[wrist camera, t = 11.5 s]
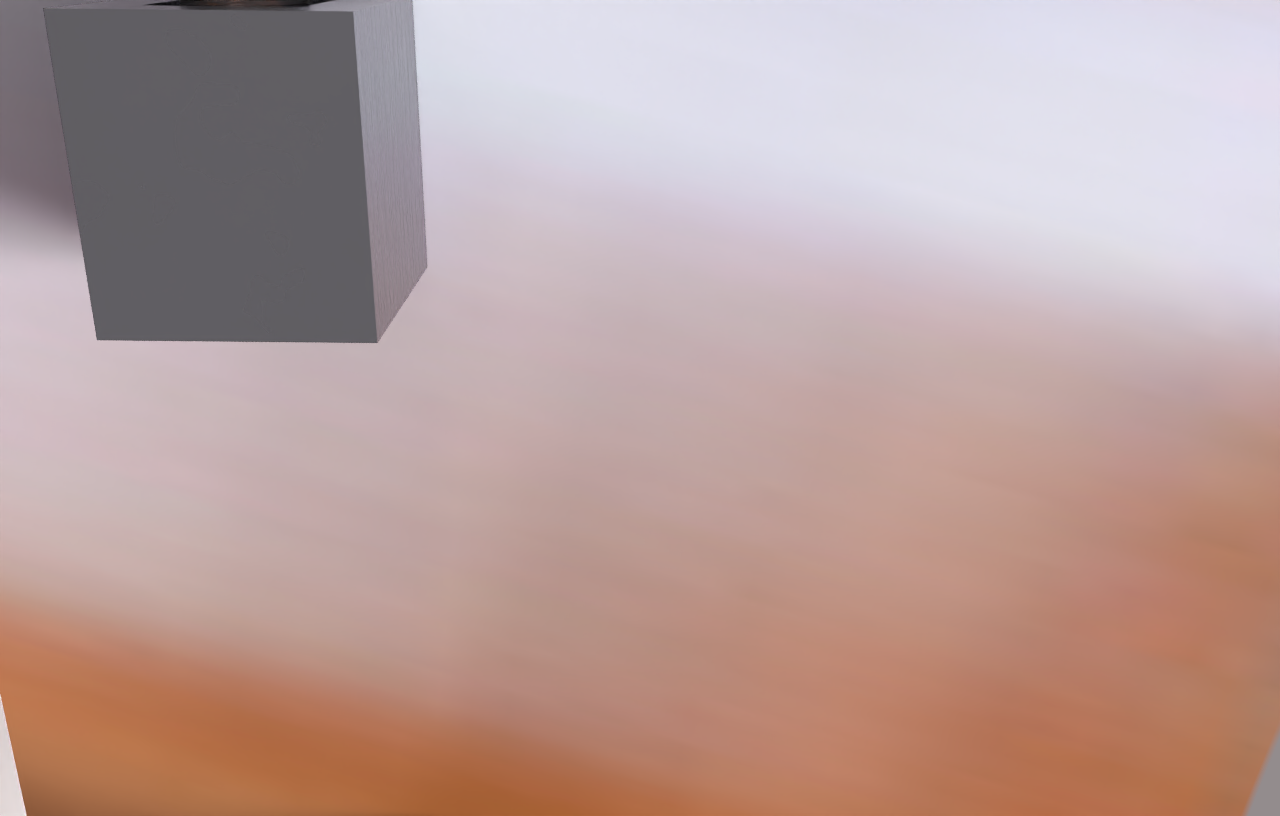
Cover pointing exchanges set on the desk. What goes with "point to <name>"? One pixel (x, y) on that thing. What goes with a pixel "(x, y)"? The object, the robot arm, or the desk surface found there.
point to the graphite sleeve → (243, 166)
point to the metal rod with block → (246, 3)
